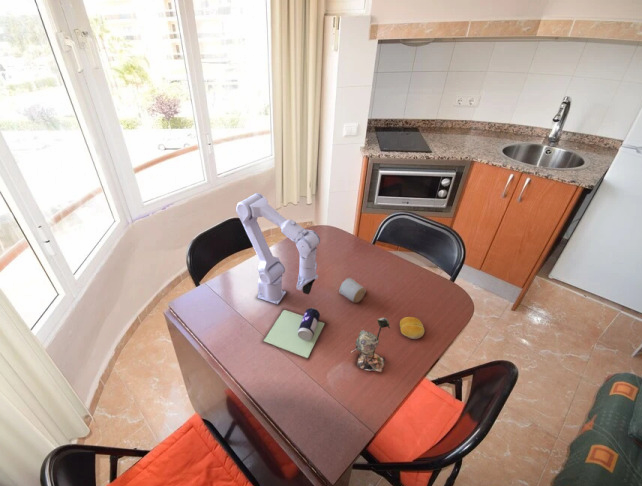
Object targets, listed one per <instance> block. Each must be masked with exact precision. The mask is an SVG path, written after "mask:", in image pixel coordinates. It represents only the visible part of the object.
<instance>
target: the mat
mask: <svg viewBox="0 0 642 486" xmlns="http://www.w3.org/2000/svg"><path fill="white" fill-rule="evenodd" d="M303 316H304V315H301V314H298V313H295V312H293V311H289V310H286V309H283V310H282V311H281V313H280V315H279V317H277V319H276V321H275V322H274V324H273V325H272V327H271V328H270V330H269V332H268V333H267V335H266V336H265V337H264V339H263V342H264V343H266V344H268V345H272V346H273V347H277V348H280V349H282V350H284V351H287V352H290V353H292V354H295V355H297V356H300V357H302V358H305V359H309V357H310V354H311V352H312V351H313V348H314V347H315V344H316V342H317V341H318V338H319V336H320V334H321V332H322V330H323V328H324V326H325V323H324V322H323V321H319V320H318V323H317V326H316V329H315V332H314V335H313V337H312V338H311V339H310V340H308V341H305V340H302V339H301V338H300V337H299V336H298V329H299V326H300V324H301V321H302V319H303Z"/></svg>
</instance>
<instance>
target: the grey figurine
mask: <svg viewBox="0 0 642 486" xmlns="http://www.w3.org/2000/svg"><path fill="white" fill-rule="evenodd" d="M376 321H377V324H378V327H379V329H378V332H377V335H375V334H374V333H372V332H370V331H366V330H364V327H361V330H360V332H359V333H358V337H356V340H355V348H353V350H352V351H351V352H350V354H353V353H354V352H356V351H357V352H359V354H358V358H357V363H356V365H357V367H358V368H359V369H362V370H364V371H367V372H369V371H373V372H379V373H381V372H383V370H384V368H385V363H386V359H385V357H382V356H380V355H378V354H376V349H377V347H378V346H379V342H380V339H379V336H380V333H381V330H382V329H384V328H388V329H391V327H390V321H389V319H388V318H387V317H380V318H378V319H377V320H376ZM362 329H363V330H362Z"/></svg>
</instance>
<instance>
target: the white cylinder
mask: <svg viewBox="0 0 642 486" xmlns="http://www.w3.org/2000/svg"><path fill="white" fill-rule="evenodd" d="M338 289H339V290H338V291H339V294H340V295H342V296H343V297H345V298H346V299H348V300H349V301H351V302H352V303H354V304H356V303H359V302H360V301H362V300H363V298H364V296H365V295H366V291H367V290H366V289H365V287H363V285H361V284H359V283H358V282H356V281H355V280H354V279H353V278H351V277H347V278H346V279H345V280H344V281H342V282H341V285H340V286H339V288H338Z"/></svg>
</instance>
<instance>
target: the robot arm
mask: <svg viewBox="0 0 642 486" xmlns="http://www.w3.org/2000/svg"><path fill="white" fill-rule="evenodd" d="M235 211H236V214H237V216H238V218H239V221H240V222H241V224H242V226H243V228H244V230H245V233H246V235H247V237H248V239H249V241H250V243H251V245H252V248H253V249H254V251H255V253H256V256H257V258H258V260H259V263H258V267H257V272H258V276H259V278H258V281H257V293H258V295H257V298H258V299H260V300H263V301H266V302H268V303H271V304H274V305H279V304H280V302H281V301H282V299H283V298H284V296H285V295H286V293H287V292H286V291H285V290H283V282H282V281H283V280H282V279H283V275H284V274H285V272H286V266H285V264H283V263H282V261H281V260H280V258H279V257H278V256H274V255H273V253H272V250H271V249H270V246H269V244H268V242H267V240H266V238H265V235H264V234H263V232H262V231H263V230H262V229H261V226H260V224H259V222H258V218H262V217H263V218H264V219H266V220H267V221H269V222H271V223H272V224H274V225H276V226H277V227H279V228H280V231H281V234H283V236H285V237H287V239H289V240H290V241H292V242H293V243H294V244H295V246H296V249H297V250H298V255H299V262H298V263H299V264H298V265H299V267H298V268H299V269H298V271H299V272H298V277H297V283H296V287H295V288H296V290H297V291H301V292H303V294H305V295H310V293H311V290H312V288H313V285H314V283H315V281H316V280H318V279H319V274H317V268H318V263H317V247H318V246H319V245H320V244H321V238H320V236H319V234H318V233H317V232H316V231H315V230H312V229H311V230H310V229H307V228H304V227H303V226H302V225H300V224H298V223H297V221H295V220H293V219H287V218H285V217H284V216H283V215H282V214H281V213H280V212H278V211H277V210H276V209H275V208H274V207H272V206H271V205H270V204H269V201H268V198H267V197H265V196H264V195H263V194H262V193H259V192H254V193H253V194H252V195H250V196H249V197H247V198H245V199H243V200H241V201H239V202H237V205H236V207H235Z"/></svg>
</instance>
